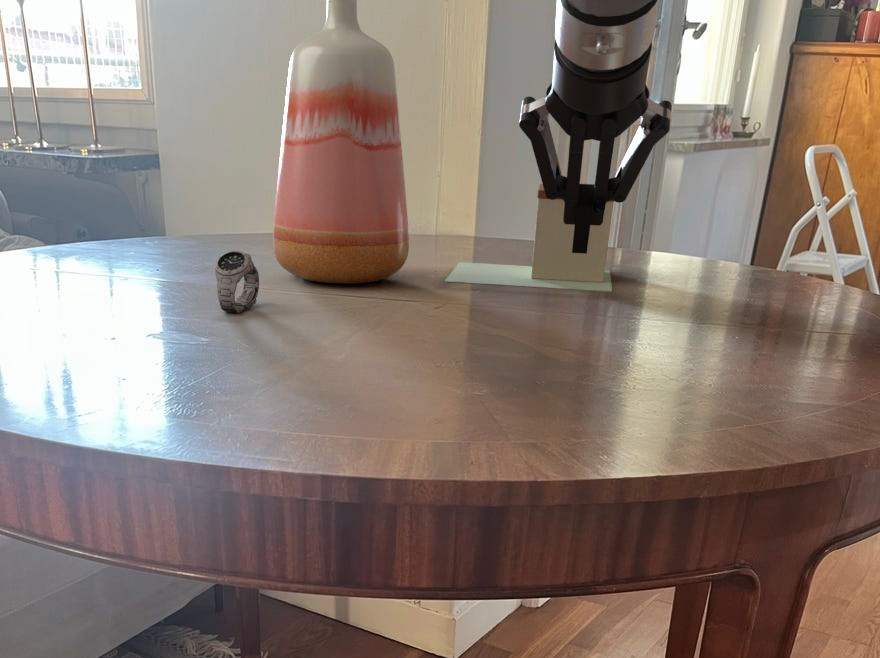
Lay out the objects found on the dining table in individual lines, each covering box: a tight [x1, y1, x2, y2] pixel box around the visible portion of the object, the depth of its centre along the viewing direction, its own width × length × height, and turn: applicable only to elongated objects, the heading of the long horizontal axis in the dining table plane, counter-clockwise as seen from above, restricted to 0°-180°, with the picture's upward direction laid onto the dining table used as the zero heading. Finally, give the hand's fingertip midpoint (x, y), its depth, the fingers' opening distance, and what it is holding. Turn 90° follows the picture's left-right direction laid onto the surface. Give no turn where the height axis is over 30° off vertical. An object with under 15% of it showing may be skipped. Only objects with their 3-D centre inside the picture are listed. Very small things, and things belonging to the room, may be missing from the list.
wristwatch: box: [214, 250, 260, 314], centre depth 86 cm, size 4×6×5 cm, turn 164°
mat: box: [443, 261, 613, 293], centre depth 108 cm, size 18×14×1 cm
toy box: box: [531, 183, 615, 282], centre depth 107 cm, size 8×8×9 cm
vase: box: [272, 0, 410, 285], centre depth 96 cm, size 14×14×30 cm
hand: (580, 241), depth 96 cm, fingers closed
